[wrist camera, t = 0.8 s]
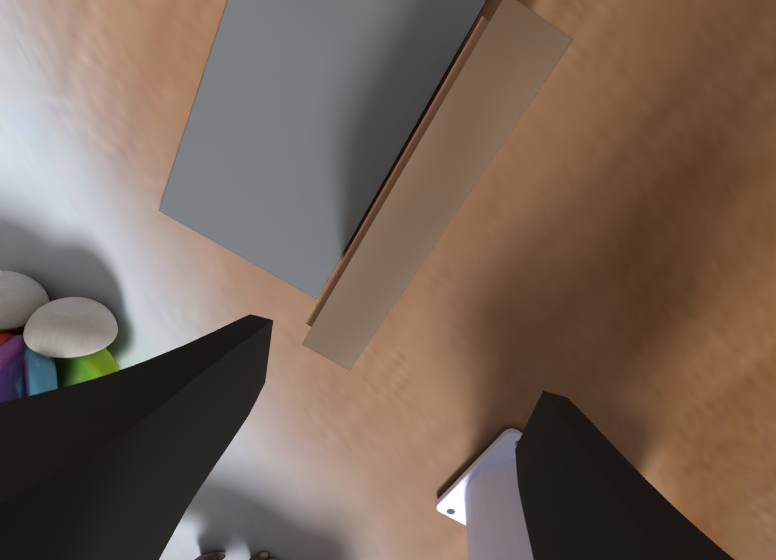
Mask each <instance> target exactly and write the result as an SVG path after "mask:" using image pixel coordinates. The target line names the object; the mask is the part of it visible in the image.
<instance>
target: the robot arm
mask: <svg viewBox="0 0 776 560" xmlns="http://www.w3.org/2000/svg"><path fill="white" fill-rule="evenodd" d="M272 325H273V320H270V319H267V318H263V317H259V316H255V315H251V314H250V315H248V316H246V317H243V318H241V319H239V320H237V321H235V322H233V323H231V324H228V325H226V326H224V327H222V328H220V329H218V330H216V331H214V332H212V333H210V334H207V335H205V336H203V337H201V338H199V339H197V340H195V341H192V342H190V343H188V344H186V345H184V346H181V347H179V348H176V349H174V350H171V351H169V352H166V353H164V354H162V355H159V356H157V357H154V358H152V359H149V360H147V361H145V362H142V363H139V364H136V365H134V366H131V367H128V368H125V369H122V370H119V371H116V372H113V373H110V374H107V375H104V376H101V377H98V378H95V379H91V380H88V381H85V382H81V383H77V384H73V385H70V386H66V387H62V388H58V389H54V390H50V391H46V392H43V393H39V394H35V395H31V396H27V397H23V398H18V399H14V400H9V401H5V402H0V560H159V558H160V556H161V554H162V553H163V551H164V549H165V547H166V545H167V543H168V542H169V540H170V538H171V536H172V534H173V533H174V531H175V529H176V527H177V525H178V523H179V522H180V520H181V518H182V516H183V514H184V513H185V511H186V509H187V507H188V506H189V504H190V503H191V501H192V499H193V498H194V496H195V495H196V493H197V491H198V490H199V488H200V487H201V485H202V484H203V482H204V481H205V479H206V478H207V477H208V475H209V474H210V472H211V471H212V469H213V468H214V466H215V465H216V463H217V462H218V460H219V459H220V457H221V456H222V454H223V453H224V451H225V450H226V448H227V447H228V445H229V444H230V443H231V441H232V440H233V438H234V437H235V435H236V434H237V432H238V431H239V429H240V428H241V426H242V425H243V423H244V421H245V420H246V418H247V417H248V415H249V413H250V411H251V409H252V408H253V406H254V404H255V402H256V400H257V398H258V396H259V394H260V392H261V390H262V388H263V386H264V384H265V379H266V371H267V363H268V356H269V348H270V341H271V333H272ZM518 440H519V442H516V441H518ZM436 508H437V510H438V511H439V512H441V513H443V514H445V515H447V516H449V517H451V518H453V519H455V520H457V521H458V522H460V523H462V524H464V525H466V530H467V545H468V560H734V559H733V558H732V557H730V556H729V555H728V554H727V553H726V552H724V551H723V550H722V549H721V548H720V547H719V546H717V545H716V544H715V543H714V542H713V541H712V540H711V539H709V538H708V537H707V536H706V535H705V534H704V533H703V532H701V531H700V530H699V529H698V528H697V527H696V526H694V525H693V524H692V523H691V522H690V521H689V520H688V519H687V518H686V517H684V516H683V515H682V514H681V513H680V512H679V511H678V510H677V509H676V508H675V507H674V506H673V505H672V504H671V503H670V502H668V501H667V500H666V499H665V498H664V497H663V496H662V495H661V494H660V493H659V492H658V491H657V490H656V489H655V488H654V487H653V486H652V485H651V484H650V483H649V482H648V481H647V480H646V479H645V478H644V477H643V476H642V475H641V474H640V473H639V472H638V471H637V470H636V469H635V468H634V467H633V466H632V465H631V464H630V463H629V462H628V461H627V460H626V459H625V458H624V456H623V455H622V454H621V453H620V452H619V451H618V450H617V449H616V448H615V447H614V446H613V445H612V444H611V443H610V442H609V441H608V439H607V438H606V437H605V436H604V435H603V434H602V433H601V432H600V431H599V430H598V429H597V428H596V427H595V426H594V424H593V423H592V422H591V421H590V420H589V419H588V418H587V417H586V416H585V415H584V414H583V413H582V412H581V411H580V410H579V409H578V408H577V407H576V406H575V405H574V404H573V403H572V402H571V401H570V400H569V399H568V398H567V397H563V396H560V395H556V394H552V393H548V392H544V391H543V393H542V395H541V397H540V399H539V401H538V403H537V405H536V407H535V409H534V411H533V413H532V415H531V417H530V419H529V421H528V423H527V426H526V428H525V430H524V432H523V433H522V432H520V431H518V430H516V429H507V430H505V431H504V432H503V433H502V434H501V435H500V436H499V437H498V438H497V439H496V440H495V441H494V442H493V443H492V444H491V445H490V446H489V447H488V448H487V449H486V450H485V451H484V452H483V453H482V455H481V456H480V457H479V458H478V459H477V460H476V461H475V462H474V463H473V464H472V465H471V466H470V467H469V468H468V469H467V470H466V471H465V472H464V473H463V474H462V475H461V476H460V477H459V478H458V479H457V480H456V481H455V482H454V483H453V484H452V485H451V486H450V487H449V488H448V489H447V491H446V492H445V493H444V494H443V495H442V496H441V497H440V498H439V499H438V500H437V501H436Z"/></svg>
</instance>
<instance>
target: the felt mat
mask: <svg viewBox="0 0 776 560" xmlns="http://www.w3.org/2000/svg"><path fill="white" fill-rule="evenodd" d="M485 2H486V0H228V2H227V5H226V8H225V11H224V14H223V17H222V20H221V23H220V26H219V29H218V32H217V35H216V38H215V41H214V44H213V47H212V50H211V53H210V56H209V59H208V62H207V65H206V68H205V71H204V74H203V78H202V81H201V84H200V87H199V90H198V93H197V96H196V99H195V102H194V105H193V108H192V111H191V114H190V117H189V120H188V123H187V126H186V129H185V132H184V135H183V138H182V141H181V144H180V147H179V150H178V153H177V156H176V159H175V162H174V165H173V169H172V172H171V175H170V178H169V181H168V184H167V187H166V190H165V193H164V196H163V199H162V202H161V205H160V208H159V211H160V212H162V213H164V214H165V215H167V216H169V217H171V218H173V219H174V220H176V221H178V222H180V223H182V224H183V225H185V226H187V227H189V228H190V229H192V230H194V231H196V232H198V233H199V234H201V235H203V236H205V237H206V238H208V239H210V240H212V241H214V242H215V243H217V244H219V245H221V246H222V247H224V248H226V249H228V250H230V251H231V252H233V253H235V254H237V255H238V256H240V257H242V258H244V259H246V260H247V261H249V262H251V263H253V264H254V265H256V266H258V267H260V268H262V269H263V270H265V271H267V272H269V273H270V274H272V275H274V276H276V277H278V278H279V279H281V280H283V281H285V282H287V283H288V284H290V285H292V286H294V287H295V288H297V289H299V290H301V291H303V292H304V293H306V294H308V295H310V296H311V297H313V298H315V299H317V297H318V295H319V294H320V292H321V290H322V288H323V287H324V285H325V283H326V281H327V280H328V278H329V276H330V274H331V273H332V271H333V269H334V267H335V266H336V264H337V262H338V260H339V259H340V257H341V255H342V253H343V251H344V250H345V248H346V246H347V244H348V243H349V241H350V239H351V237H352V236H353V234H354V232H355V230H356V229H357V227H358V225H359V223H360V222H361V220H362V218H363V216H364V215H365V213H366V211H367V209H368V207H369V206H370V204H371V202H372V200H373V199H374V197H375V195H376V193H377V192H378V190H379V188H380V186H381V185H382V183H383V181H384V179H385V178H386V176H387V174H388V172H389V171H390V169H391V167H392V165H393V164H394V162H395V160H396V158H397V156H398V155H399V153H400V151H401V149H402V148H403V146H404V144H405V142H406V141H407V139H408V137H409V135H410V134H411V132H412V130H413V128H414V127H415V125H416V123H417V121H418V120H419V118H420V116H421V114H422V112H423V111H424V109H425V107H426V105H427V104H428V102H429V100H430V98H431V97H432V95H433V93H434V91H435V90H436V88H437V86H438V84H439V83H440V81H441V79H442V77H443V76H444V74H445V72H446V70H447V68H448V67H449V65H450V63H451V61H452V60H453V58H454V56H455V54H456V53H457V51H458V49H459V47H460V46H461V44H462V42H463V40H464V39H465V37H466V35H467V33H468V32H469V30H470V28H471V26H472V25H473V23H474V21H475V19H476V17H477V16H478V14H479V12H480V10H481V9H482V7H483V5H484V3H485Z"/></svg>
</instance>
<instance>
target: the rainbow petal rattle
mask: <svg viewBox="0 0 776 560" xmlns="http://www.w3.org/2000/svg"><path fill="white" fill-rule="evenodd" d="M117 333H118V326H117V322H116V320H115V318H114V316H113V314H112V313H111V312H110V310H108V309H107V308H106V307H105V306H104V305H102V304H101V303H99V302H97V301H94V300H91V299H88V298H82V297H66V298H61V299H57V300H54V301H51V302H50V300H49V297H48V295H47V293H46V291H45V290H44V288H43V287H42V286H41V285H40V284H39V283H38V282H37V281H35V280H34V279H32V278H30V277H28V276H26V275H24V274H21V273H17V272H12V271H2V270H0V402H5V401H9V400H14V399H18V398H23V397H27V396H31V395H35V394H39V393H43V392H46V391H50V390H54V389H58V388H62V387H66V386H70V385H73V384H77V383H81V382H85V381H88V380H91V379H95V378H98V377H101V376H104V375H107V374H110V373H113V372H116V371H119V367H118V364H117V363H116V361H115V359H114V358H113V356H112V355H111V354H110V352H109V351H108V350H107V349H106V348H105V347H107V346H108V345H110V344H111V343H112V342H113V341H114V340H115V338H116V336H117Z"/></svg>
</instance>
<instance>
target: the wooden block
mask: <svg viewBox="0 0 776 560" xmlns="http://www.w3.org/2000/svg"><path fill="white" fill-rule="evenodd" d="M572 40H573V39H572V38H571V37H569V36H568V35H566V34H565V33H564V32H562V31H561V30H559V29H558V28H556V27H555V26H553V25H552V24H551V23H549V22H548V21H546V20H545V19H543V18H542V17H540V16H539V15H538V14H536V13H535V12H533V11H532V10H530V9H529V8H527V7H526V6H525V5H523V4H522V3H520V2H519V1H517V0H502V1H501V3H500V5H499V6H498V8H497V10H496V11H495V13H494V15H493V16H492V18H491V20H490V21H489V20H487V19H486V18H484V17H483V16H482V17H481V19H480V21H479V22H478V24H477V26H476V28H475V29H474V31H473V33H472V35H471V36H470V38H469V40H468V42H467V43H466V45H465V47H464V49H463V50H462V52H461V54H460V56H459V57H458V59H457V61H456V63H455V64H454V66H453V68H452V69H451V71H450V73H449V75H448V76H447V78H446V80H445V82H444V83H443V85H442V87H441V89H440V90H439V92H438V94H437V96H436V97H435V99H434V101H433V103H432V104H431V106H430V108H429V110H428V111H427V113H426V115H425V117H424V118H423V120H422V122H421V124H420V125H419V127H418V129H417V131H416V132H415V134H414V136H413V138H412V139H411V141H410V143H409V145H408V146H407V148H406V150H405V152H404V153H403V155H402V157H401V159H400V160H399V162H398V164H397V166H396V167H395V169H394V171H393V172H392V174H391V176H390V178H389V179H388V181H387V183H386V185H385V186H384V188H383V190H382V192H381V193H380V195H379V197H378V199H377V200H376V202H375V204H374V206H373V207H372V209H371V211H370V213H369V214H368V216H367V218H366V220H365V221H364V223H363V225H362V227H361V228H360V230H359V232H358V234H357V235H356V237H355V239H354V241H353V242H352V244H351V246H350V248H349V249H348V251H347V253H346V255H345V256H344V258H343V260H342V262H341V263H340V265H339V267H338V268H337V270H336V272H335V274H334V275H333V277H332V279H331V281H330V282H329V284H328V286H327V288H326V289H325V291H324V293H323V295H322V296H321V298H320V300H319V302H318V303H317V305H316V307H315V309H314V310H313V312H312V314H311V316H310V317H309V319H308V321H307V323H306V324H308V325H310V326H311V329H310V331H309V332H308V334H307V336H306V338H305V339H304V341H303V343H302V345H304V346H305V347H307V348H309V349H311V350H313V351H315V352H316V353H318V354H320V355H322V356H324V357H325V358H327V359H329V360H331V361H333V362H335V363H336V364H338V365H340V366H342V367H344V368H346V369H347V370H349V371H350V370H351V369H352V367H353V366H354V364H355V363H356V361H357V360H358V358H359V357H360V356H361V354H362V353H363V351H364V350H365V348H366V347H367V345H368V344H369V342H370V341H371V339H372V338H373V336H374V335H375V333H376V332H377V330H378V329H379V327H380V326H381V324H382V323H383V321H384V320H385V318H386V317H387V315H388V314H389V312H390V311H391V309H392V308H393V306H394V305H395V304H396V302H397V301H398V299H399V298H400V296H401V295H402V293H403V292H404V290H405V289H406V287H407V286H408V284H409V283H410V281H411V280H412V278H413V277H414V275H415V274H416V272H417V271H418V269H419V268H420V266H421V265H422V263H423V262H424V260H425V259H426V257H427V256H428V254H429V253H430V251H431V250H432V249H433V247H434V246H435V244H436V243H437V241H438V240H439V238H440V237H441V235H442V234H443V232H444V231H445V229H446V228H447V226H448V225H449V223H450V222H451V220H452V219H453V217H454V216H455V214H456V213H457V211H458V210H459V208H460V207H461V205H462V204H463V202H464V201H465V199H466V198H467V197H468V195H469V194H470V192H471V191H472V189H473V188H474V186H475V185H476V183H477V182H478V180H479V179H480V177H481V176H482V174H483V173H484V171H485V170H486V168H487V167H488V165H489V164H490V162H491V161H492V159H493V158H494V156H495V155H496V153H497V152H498V150H499V149H500V147H501V146H502V144H503V143H504V142H505V140H506V139H507V137H508V136H509V134H510V133H511V131H512V130H513V128H514V127H515V125H516V124H517V122H518V121H519V119H520V118H521V116H522V115H523V113H524V112H525V110H526V109H527V107H528V106H529V104H530V103H531V101H532V100H533V98H534V97H535V95H536V94H537V92H538V91H539V90H540V88H541V87H542V85H543V84H544V82H545V81H546V79H547V78H548V76H549V75H550V73H551V72H552V70H553V69H554V67H555V66H556V64H557V63H558V61H559V60H560V58H561V57H562V55H563V54H564V52H565V51H566V49H567V48H568V46H569V45H570V43H571V42H572Z"/></svg>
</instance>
